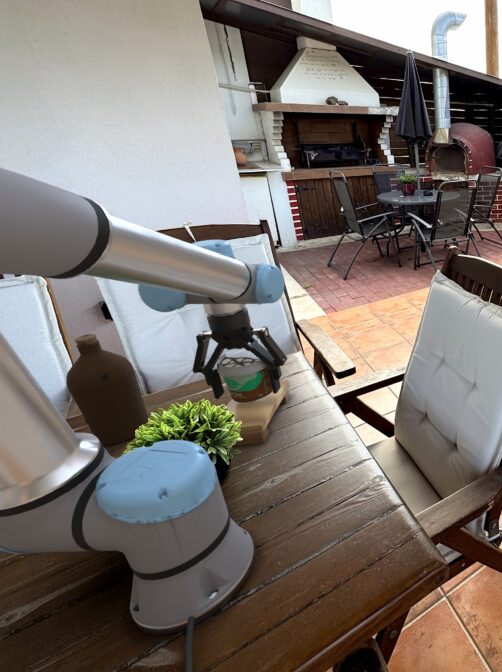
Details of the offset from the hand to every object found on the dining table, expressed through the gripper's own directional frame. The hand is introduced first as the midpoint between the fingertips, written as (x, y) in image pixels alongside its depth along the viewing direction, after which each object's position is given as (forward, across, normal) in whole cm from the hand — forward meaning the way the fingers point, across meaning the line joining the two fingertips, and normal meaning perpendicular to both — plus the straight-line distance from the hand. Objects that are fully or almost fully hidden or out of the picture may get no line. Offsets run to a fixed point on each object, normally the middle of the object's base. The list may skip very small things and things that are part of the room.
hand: (249, 392), depth 95 cm
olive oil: (+8, +29, -1) cm, 30 cm away
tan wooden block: (+8, 0, 0) cm, 8 cm away
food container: (+1, +1, 0) cm, 2 cm away
